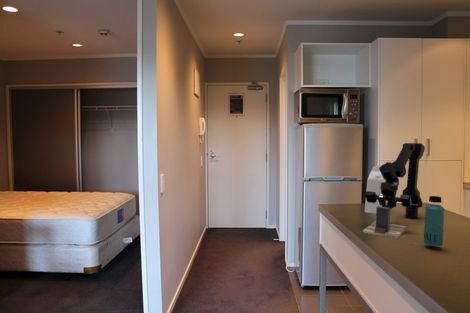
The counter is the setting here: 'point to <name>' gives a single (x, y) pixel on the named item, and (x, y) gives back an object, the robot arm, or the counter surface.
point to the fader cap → (383, 218)
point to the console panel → (392, 233)
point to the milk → (374, 188)
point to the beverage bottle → (434, 223)
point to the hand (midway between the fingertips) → (384, 214)
